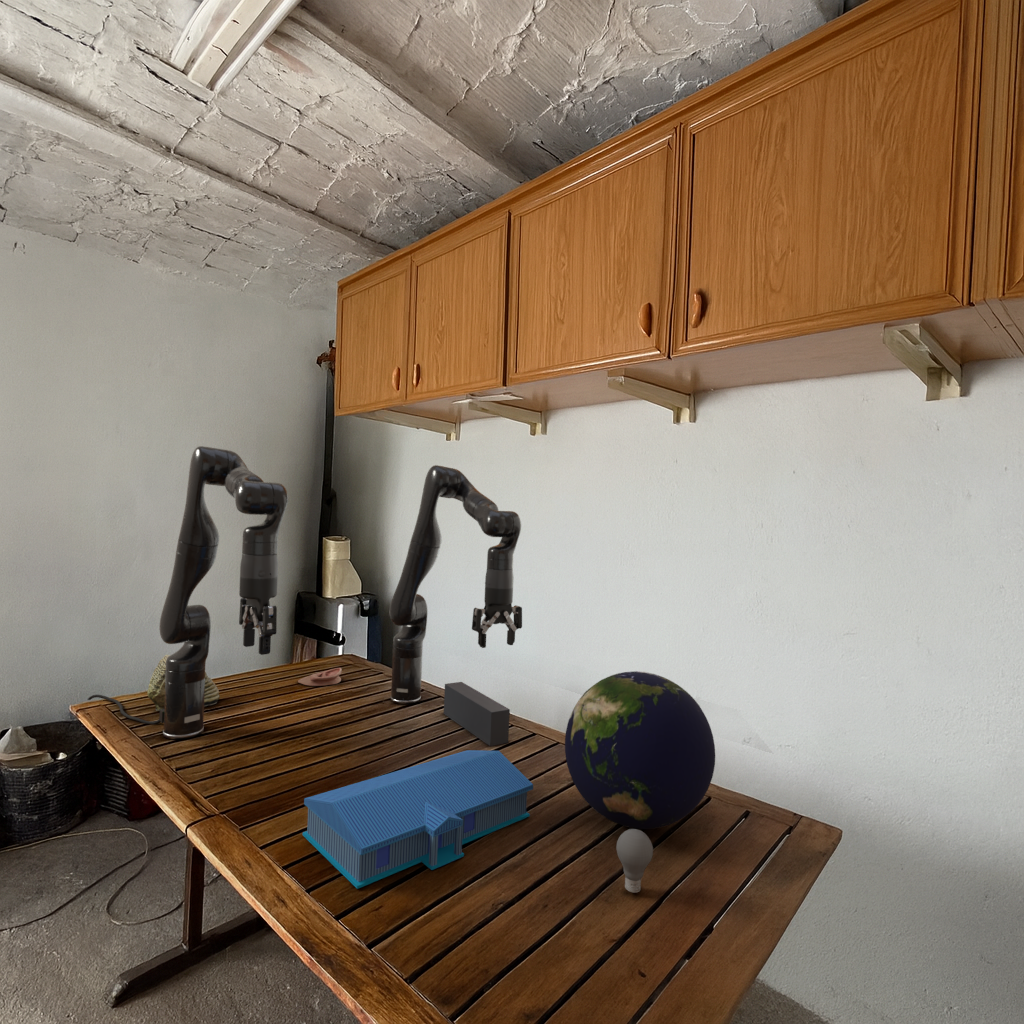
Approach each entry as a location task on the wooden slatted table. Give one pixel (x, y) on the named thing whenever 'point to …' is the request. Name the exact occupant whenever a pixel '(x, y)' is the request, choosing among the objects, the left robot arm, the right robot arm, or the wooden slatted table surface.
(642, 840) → the light bulb
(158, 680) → the fossil
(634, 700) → the globe
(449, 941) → the wooden slatted table surface
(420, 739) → the wooden slatted table surface
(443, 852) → the model building
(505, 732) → the bar
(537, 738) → the wooden slatted table surface
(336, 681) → the anatomical model
